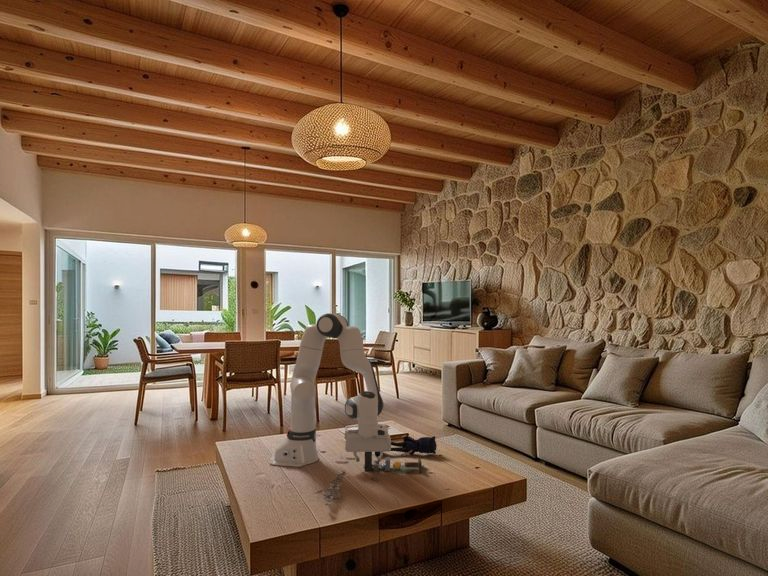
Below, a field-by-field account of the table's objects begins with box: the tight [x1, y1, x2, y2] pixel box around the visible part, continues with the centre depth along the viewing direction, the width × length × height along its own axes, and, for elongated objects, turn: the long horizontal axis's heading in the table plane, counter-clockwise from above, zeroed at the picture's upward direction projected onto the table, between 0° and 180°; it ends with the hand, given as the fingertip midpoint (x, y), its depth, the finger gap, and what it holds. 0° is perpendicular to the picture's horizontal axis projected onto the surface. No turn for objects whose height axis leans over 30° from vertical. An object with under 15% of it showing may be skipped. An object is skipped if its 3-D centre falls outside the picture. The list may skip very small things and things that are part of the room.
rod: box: [363, 452, 391, 472], centre depth 199 cm, size 12×5×8 cm, turn 88°
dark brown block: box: [373, 460, 380, 473], centre depth 199 cm, size 2×6×3 cm, turn 178°
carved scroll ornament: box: [324, 470, 346, 506], centre depth 173 cm, size 5×30×4 cm, turn 174°
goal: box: [404, 453, 422, 473], centre depth 199 cm, size 7×9×5 cm
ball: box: [392, 460, 402, 470], centre depth 199 cm, size 4×4×4 cm
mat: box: [391, 464, 426, 475], centre depth 199 cm, size 14×10×1 cm
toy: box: [374, 434, 437, 457], centre depth 218 cm, size 10×9×30 cm
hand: (368, 461), depth 200 cm, fingers open, 8 cm apart
